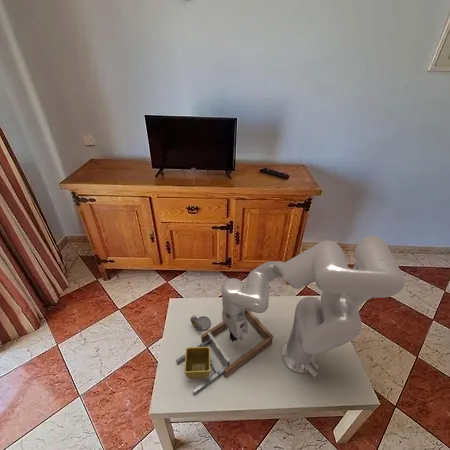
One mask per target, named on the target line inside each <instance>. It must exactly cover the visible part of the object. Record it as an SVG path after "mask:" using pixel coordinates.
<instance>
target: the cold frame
mask: <svg viewBox="0 0 450 450" xmlns="http://www.w3.org/2000/svg"><path fill="white" fill-rule="evenodd" d="M244 314H245V315H246V319H247V323H249V324H250V326H251V327H252V328H254V330H255V331H256V332H257V334H258V335H259V336H260V337H261V338H262V339H263V340H262V341H260V343H258V344H256V345H255V346H254V347H252V348H251V349H250V350H248V351H247V352H246V353H244V354H242V356H240V357H239V358H237V359H236V360H235V361H233V362H232V363H230V365H229V366H228V367H226V368H225V369H224V374H223V377H224V378H225V379H227V378H228V377H230V376H232V375H233V374H234V373H235V372H237V371H238V370H239V369H241V368H242V367H243V366H245V365H247V363H249V362H250V361H251V360H252V359H254V358H255V357H257V356H258V355H259V354H260V353H262V352H263V351H264V350H266V349H267V348H269V347H270V346H271V345H272V343H273V339H274V335H273V334H272V333H271V332H270V331H269V330H268V329H267V328H266V326H265V325H264V324H263V323H262V322H261V321H260V320H259V319H258V318H257V316H255V314H254V312H252V311H249V310H246V309H245V313H244ZM227 329H228V327H227V326H226V325H225V324H224V322H223V321H221V322H220V323H218V324H217V325H215V326H213V327H212V328H209V330H207V331H205V332H203V333H202V334H201V335H200V341H201V344H202V343H203V342H205V341H206V340H208V338H207V333H208V332H210V333H211V334H212V336H213V337H214V338H216V337H217V336H219V335H220V334H221V333H223V332H224V331H226V330H227Z"/></svg>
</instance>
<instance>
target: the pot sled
mask: <svg viewBox="0 0 450 450" xmlns="http://www.w3.org/2000/svg"><path fill="white" fill-rule="evenodd" d="M207 338H208V340H206V341H205V342H203V343H202V342H201V343H200V344H198V345H197V346H196V347H208V346H209V347H210V349H211V350H212V351H213V352H214V353H215V354H214V355H215V356H216V357H217V358H218V360H219V361H220V363H221V365H222V366H223V368H221V369H218V368H217V366H216V364H215V363H214V361H213V360H212V358H211V357H210V368H212V371H213V372H214V373H215V374H213V375H212V376H210V377H208V378H207V380H205V381H203V382H202V383H201V384H200V385H197V386H196V387H195V388H194V389H192V394H193V396H195V395H197V394H198V393H200V392H201V391H202V390H204V389H205V388H207V387H208V386H209V385H210V384H212V383H214V382H215V381H216V380H217V379H219V378H220V377H221V376H224V369H225V368H226V367H228V366H229V365H231V360H230V359H229V357H228V356H227V354H226V353H225V351H224V350H223V348H222V347H221V345H220V343H218V341H217V340H216V338H215V337H213V336H212V334H211V333H210V332H208V333H207ZM185 356H186V353H184V354H183V355H182V356H180V357H178V358H177V359H176V360H175V361H176V365H180V364H181V363H183V362H185Z"/></svg>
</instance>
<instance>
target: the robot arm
mask: <svg viewBox="0 0 450 450" xmlns="http://www.w3.org/2000/svg"><path fill="white" fill-rule="evenodd" d="M354 258H355V259H354V260H355V264H354V266H353V268H350V267H349V264H348V261H347V258H346V255H345V253H344V251H343V249H342V247H341V246H340V244H338V243H337V242H336V241H334V240H330V239H329V240H328V239H326V240H323V241H320V242H318V243H316V244H315V245H313V246H311V247H309V248H307V249H306V250H304V251H302V252H301V253H300V254H298V255H296V256H294V257H292V258H291V259H289V260H287V261H275V260H274V261H267V262H264V263H261V264H260V265H258V266H257V267H256V268H254V269H253V270H251V271H250V272H249V274H248V275H247V277H246V283H245V284H244V283H243V281H242V280H241V279H239V278H236V277H235V278H234V277H233V278H232V277H231V278H228V279H226V280H225V281H223V283H222V284H221V301H222V310H221V319H222V322H224V324H225V325H226V326H227V327H228V332H229V339H230V340H231V342H232V343H233V342H236V341H237V340H240V341H244V339H245V335H246V334H248V331H249V330H248V329H249V327H248V326H249V325H248V321H247V319H246V315H245V314H244V313H245V309H246V310H249V311H251V312H252V313H255V314H262V313H265V312H267V310H268V308H269V303H270V302H269V300H270V297H269V296H270V282H272V281H273V280H275V279H277V278H279V277H283V278H284V280H285V281H286V283H287V284H288V285H289V286H290V287H292V288H293V289H295V290H300V289H302V288H304V287H307V286H308V285H310V284H312V283H315V284H316V286H317V289H319V290H321V291H322V293H321V295H320V299H319V298H318V297H314V296H305V297H303V298H302V299H300V300H299V301H298V303H297V304H296V306H295V311H294V317H293V324H292V327H291V330H290V334H289V338H288V341H286V342H284V344H283V345H282V347H281V352H280V355H281V359H282V362H283V363H284V365H285V366H286V367H287V368H288V370H290V371H292V372H294V373H297V374H305V373H306V374H307V373H308V372H309V374H311V376H312V377H313V378H316V377H317V376H318V375H319V373H318V372H317V371H318V370H319V369H320V367H319V366H318V365H317V364H316V363H315V361H316V359H315V357H316V356H315V355H322V354H325V353H328V352H330V351H333V350H334V349H336V348H337V349H338V347H341V346H343V345H345V344H347V343H349V342H351V341H353V340H355V339H356V338H357V337H358V336H359V335H360V333H361V332H362V328H363V326H362V325H363V323H362V320H361V315H360V311H359V307H360V306H361V305H362V304H364V303H366V302H368V301H369V300H370V299H372V298H381V299H382V298H388V297H389V298H390V297H393V296H396V295H398V294H400V293H401V292H402V290H403V289H404V287H405V278H404V275H403V272H402V271H401V269H400V267H399V265H398V263H397V262H396V259H395V257H394V255H393V253H392V252H391V250H390V248H389V246H388V245H387V243H386V242H385V240H383V239H382V238H381V237H379V236H377V235H367V236H364V237H363V238H362V239H360V240H359V242H358V243H357V244H356V247H355V249H354ZM244 334H245V335H244Z"/></svg>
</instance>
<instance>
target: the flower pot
mask: <svg viewBox="0 0 450 450" xmlns="http://www.w3.org/2000/svg"><path fill="white" fill-rule="evenodd" d="M185 354H186V356H185V360H184V374H185V376H186V378H188V379H192V380H193V379H208V378H210V377H209V376H210V374H211V365H210V358H211V346H206V347H197V346H195V347H194V346H192V347H191V346H190V347H185Z"/></svg>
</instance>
